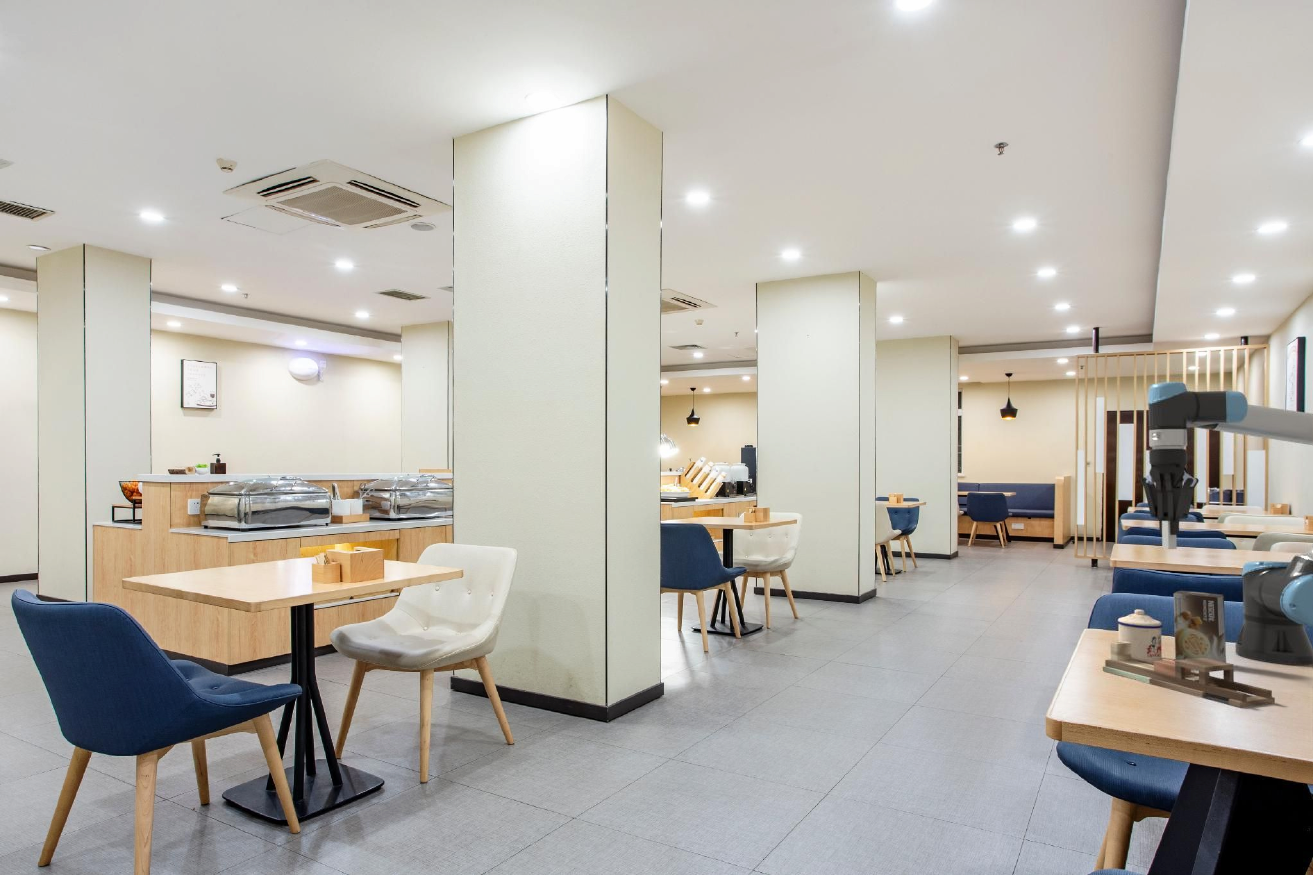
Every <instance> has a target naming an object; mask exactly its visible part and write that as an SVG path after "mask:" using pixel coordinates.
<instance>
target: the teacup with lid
mask: <svg viewBox="0 0 1313 875" xmlns="http://www.w3.org/2000/svg"><path fill="white" fill-rule="evenodd" d="M1117 624H1118V642H1124V641H1125V642H1130V643H1131V657H1133V658H1138V659H1142V660H1146V661H1150V662H1154V661H1159V660H1163V659H1162V650H1163V649H1162V628H1163V624H1162V622H1161V621H1159V620H1156V619H1154V618H1152V617H1151V616H1149V615H1147V614H1145V611H1144V610H1143V609H1135V610H1134V613H1131V614H1128V615H1127V616H1122V617H1119V618H1118V619H1117Z"/></svg>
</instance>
